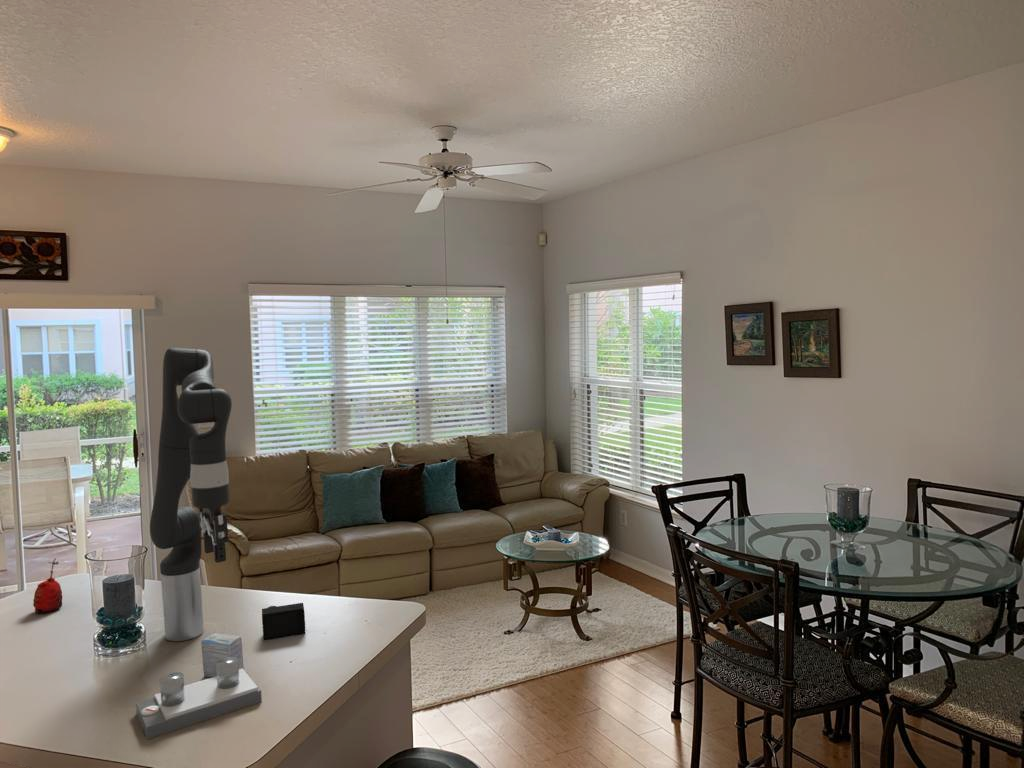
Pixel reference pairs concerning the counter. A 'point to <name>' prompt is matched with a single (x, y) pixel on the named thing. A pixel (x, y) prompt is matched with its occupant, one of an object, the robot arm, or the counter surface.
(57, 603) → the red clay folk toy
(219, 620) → the counter surface
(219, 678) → the cylinder
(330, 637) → the counter surface
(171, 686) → the cylinder
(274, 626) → the digital camera
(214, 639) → the medicine box
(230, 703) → the scale
